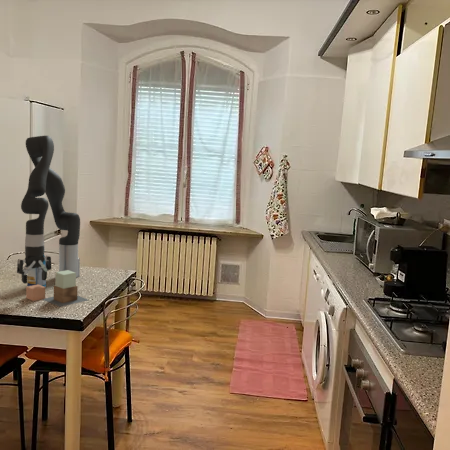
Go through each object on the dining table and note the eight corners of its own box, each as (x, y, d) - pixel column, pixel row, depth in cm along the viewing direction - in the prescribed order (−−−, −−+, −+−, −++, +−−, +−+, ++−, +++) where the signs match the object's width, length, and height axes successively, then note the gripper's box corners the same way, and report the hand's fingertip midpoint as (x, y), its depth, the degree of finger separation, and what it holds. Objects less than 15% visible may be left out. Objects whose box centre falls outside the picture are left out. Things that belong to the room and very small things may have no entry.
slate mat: (70, 293, 209) (70, 292, 209) (89, 300, 201) (89, 299, 201) (41, 300, 198) (41, 299, 198) (60, 307, 190) (60, 306, 190)
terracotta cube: (38, 296, 203) (38, 284, 203) (45, 299, 200) (45, 287, 199) (26, 299, 199) (26, 286, 198) (33, 302, 196) (33, 289, 195)
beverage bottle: (45, 290, 213) (45, 247, 210) (25, 290, 210) (25, 247, 208) (47, 285, 221) (47, 244, 218) (28, 285, 218) (27, 244, 216)
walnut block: (68, 296, 204) (68, 282, 204) (77, 299, 200) (77, 286, 199) (53, 299, 199) (53, 285, 198) (62, 303, 195) (63, 289, 194)
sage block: (67, 283, 203) (67, 270, 202) (75, 286, 199) (75, 272, 198) (55, 285, 198) (55, 272, 197) (63, 288, 195) (63, 274, 194)
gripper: (45, 241, 204) (45, 277, 206) (13, 244, 193) (13, 282, 195) (54, 244, 199) (54, 280, 201) (23, 247, 188) (22, 286, 190)
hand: (34, 281), depth 198 cm, fingers open, 8 cm apart
